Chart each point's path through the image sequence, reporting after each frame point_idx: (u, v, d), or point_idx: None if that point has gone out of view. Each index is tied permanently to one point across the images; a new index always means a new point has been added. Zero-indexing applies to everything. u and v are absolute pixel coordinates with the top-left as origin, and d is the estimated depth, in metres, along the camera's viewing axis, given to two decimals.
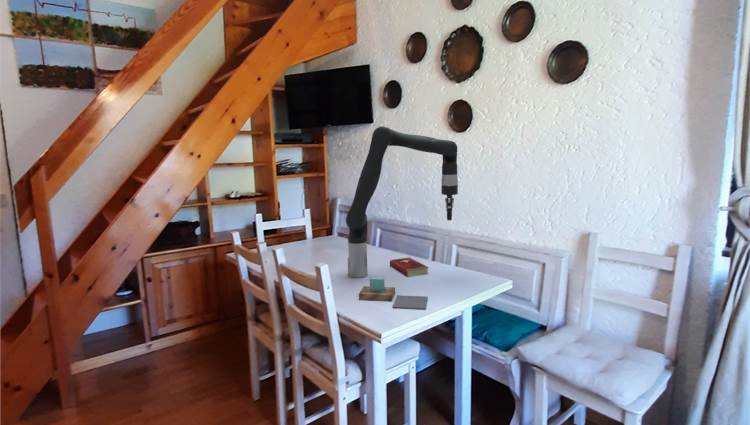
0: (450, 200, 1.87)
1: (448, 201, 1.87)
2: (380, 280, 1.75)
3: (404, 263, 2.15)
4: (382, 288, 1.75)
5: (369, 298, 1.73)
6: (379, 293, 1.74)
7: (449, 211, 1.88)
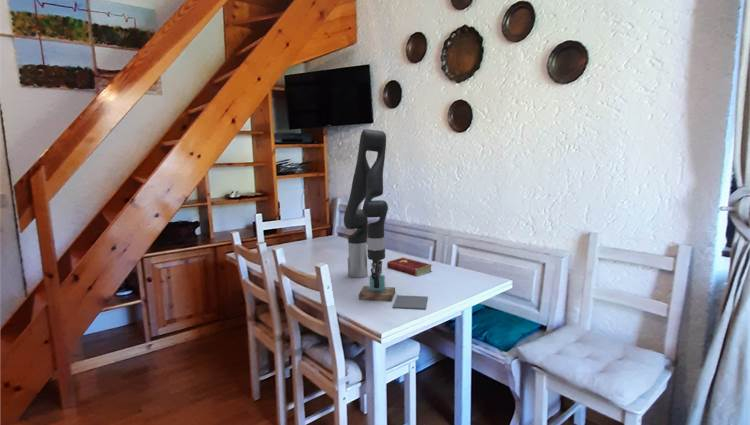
0: (375, 271, 1.70)
1: (373, 272, 1.70)
2: (380, 277, 1.75)
3: (405, 263, 2.14)
4: (382, 285, 1.75)
5: (369, 298, 1.73)
6: (379, 293, 1.74)
7: None
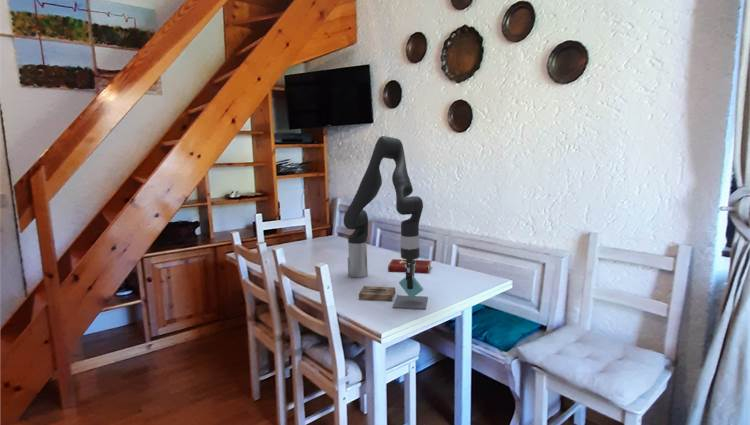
0: (409, 271, 1.60)
1: (407, 272, 1.61)
2: None
3: None
4: (415, 283, 1.66)
5: (369, 298, 1.73)
6: (379, 293, 1.74)
7: None
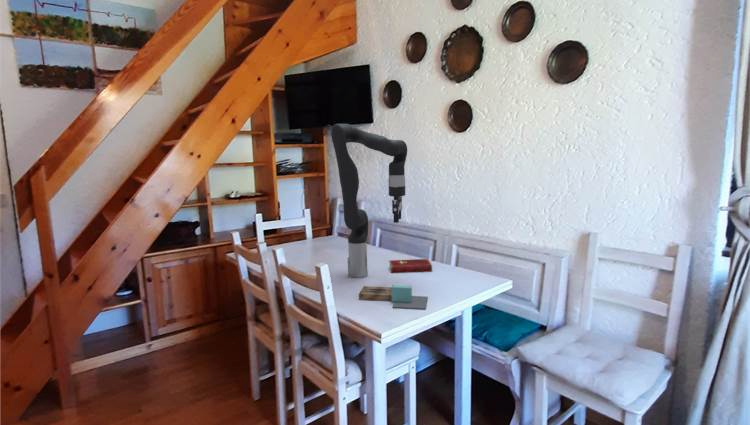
0: (396, 202, 1.79)
1: (394, 203, 1.79)
2: (392, 290, 1.69)
3: (408, 263, 2.14)
4: (401, 288, 1.68)
5: (369, 298, 1.73)
6: (379, 293, 1.74)
7: (395, 213, 1.81)
